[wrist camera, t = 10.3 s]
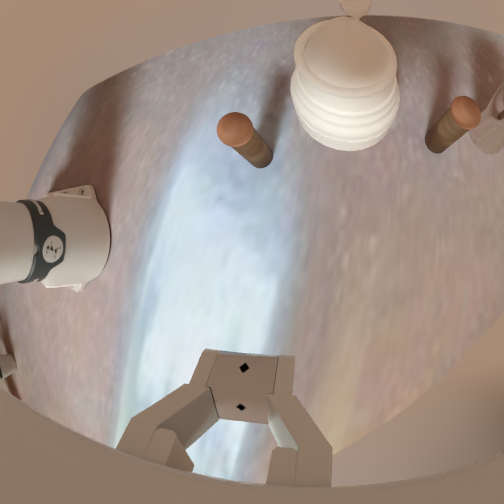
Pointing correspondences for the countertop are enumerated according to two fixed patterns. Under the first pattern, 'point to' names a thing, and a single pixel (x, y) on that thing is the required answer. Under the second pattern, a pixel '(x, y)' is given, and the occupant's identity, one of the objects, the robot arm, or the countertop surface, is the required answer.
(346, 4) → the honey pot
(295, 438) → the robot arm
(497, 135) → the beer glass
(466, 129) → the post
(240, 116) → the post
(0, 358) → the house plant
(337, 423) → the countertop surface
